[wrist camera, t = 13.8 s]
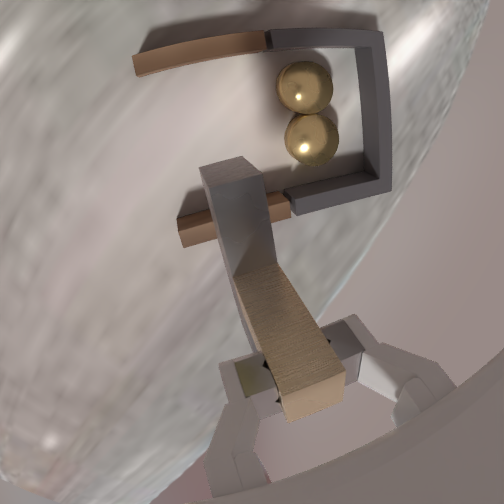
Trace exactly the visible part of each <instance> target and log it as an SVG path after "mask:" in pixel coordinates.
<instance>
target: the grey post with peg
mask: <svg viewBox="0 0 504 504" xmlns="http://www.w3.org/2000/svg"><path fill="white" fill-rule="evenodd" d="M199 170H200V174H201V178H202V182H203V186H204V190H205V193H206V197H207V201H208V205H209V208H210V212H211V216H212V220H213V223H214V227H215V231H216V234H217V238H218V242H219V245H220V249H221V252H222V256H223V259H224V263H225V267H226V270H227V274H228V277H229V281H230V284H231V287H232V291H233V294H234V298H235V301H236V305H237V308H238V311H239V315H240V318H241V322H242V325H243V328H244V330H245V333H246V335H247V338H248V341H249V343H250V346H251V348H252V351H253V353H254V352H258V351H261V352H262V354H263V356H264V358H265V361H266V365H267V369H268V370H270V372H271V375H272V377H273V380H274V382H275V384H276V387H277V391H278V395H279V401H280V403H281V407H282V411H283V413H284V416H285V418H286V420H287V423H290V422H293V421H295V420H298V419H301V418H303V417H306V416H308V415H311V414H313V413H316V412H318V411H321V410H323V409H325V408H328V407H330V406H332V405H335V404H337V403H339V402H341V401H342V400H343V394H344V386H345V378H346V369H345V368H344V366H343V365H342V363H341V361H340V360H339V358H338V357H337V355H336V353H335V352H334V350H333V349H332V347H331V345H330V344H329V342H328V341H327V339H326V338H325V336H324V334H323V333H322V331H321V330H320V328H319V327H318V325H317V323H316V322H315V320H314V319H313V317H312V316H311V314H310V312H309V311H308V309H307V308H306V306H305V305H304V303H303V302H302V300H301V298H300V297H299V295H298V294H297V292H296V291H295V289H294V288H293V286H292V284H291V283H290V281H289V280H288V278H287V277H286V275H285V274H284V272H283V271H282V269H281V267H280V266H279V264H278V263H277V257H276V251H275V245H274V239H273V233H272V227H271V221H270V215H269V209H268V203H267V197H266V191H265V186H264V180H263V174H262V173H261V172H260V171H259V170H258V169H256V168H255V167H254V166H253V165H252V164H251V163H250V162H248V161H247V160H246V159H245V158H244V157H243V156H240V157H236V158H232V159H228V160H224V161H220V162H217V163H213V164H210V165H206V166H202V167H199Z"/></svg>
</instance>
